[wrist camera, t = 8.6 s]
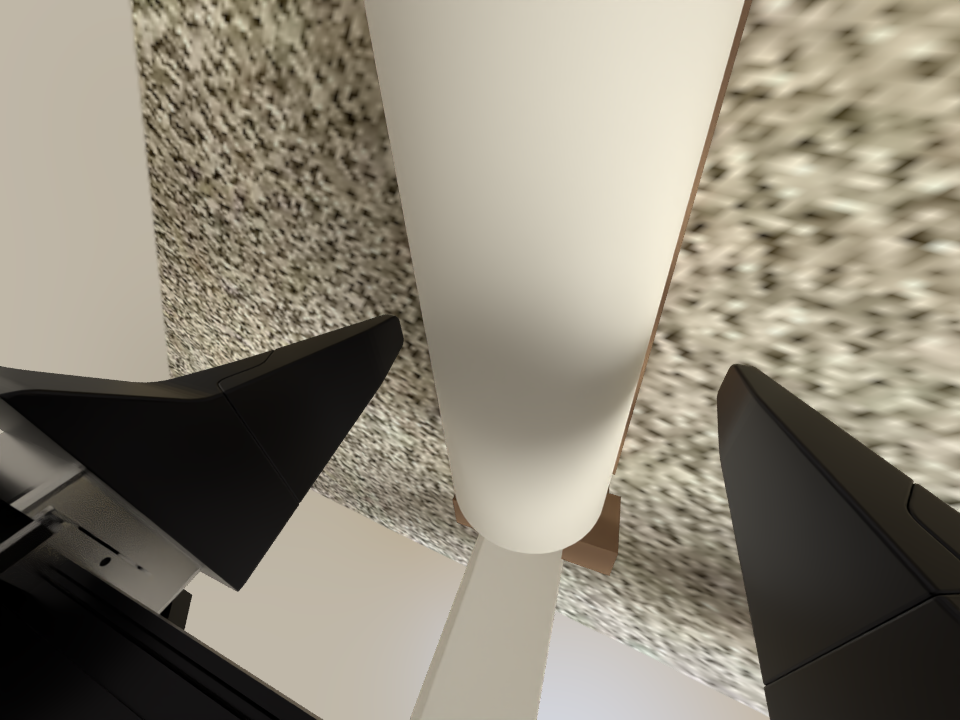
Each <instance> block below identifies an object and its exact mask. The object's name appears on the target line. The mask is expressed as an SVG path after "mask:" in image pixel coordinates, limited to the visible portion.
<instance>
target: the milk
mask: <svg viewBox="0 0 960 720" xmlns="http://www.w3.org/2000/svg"><path fill="white" fill-rule="evenodd" d="M562 551H563V549H561V550H558V551H555V552H549V553H543V554H528V553H520V552H515V551H512V550H508V549H505V548H503V547H500V546H498V545H496V544H494V543H492V542H490V541H489V540H487V539H486V538H484V537H483V536H482V535H480V534H479V535H478V538H477V541H476V543H475V546H474V549H473V551H472V554H471V557H470V559H469V562H468V565H467V568H466V570H465V573H464V576H463V578H462V581H461V584H460V586H459V589H458V592H457V594H456V597H455V600H454V602H453V605H452V608H451V610H450V613H449V616H448V618H447V621H446V624H445V626H444V629H443V632H442V635H441V637H440V640H439V643H438V645H437V648H436V651H435V653H434V656H433V659H432V661H431V664H430V667H429V670H428V672H427V675H426V677H425V680H424V683H423V685H422V688H421V691H420V693H419V696H418V699H417V702H416V704H415V707H414V709H413V712H412V715H411V718H410V720H537V715H538V709H539V703H540V697H541V691H542V685H543V679H544V672H545V667H546V661H547V655H548V649H549V643H550V637H551V631H552V626H553V620H554V613H555V608H556V602H557V596H558V590H559V584H560V578H561V572H562V566H563V559H561V556H562Z"/></svg>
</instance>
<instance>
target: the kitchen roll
mask: <svg viewBox="0 0 960 720" xmlns="http://www.w3.org/2000/svg"><path fill="white" fill-rule="evenodd" d="M744 1H745V0H364V5H365V10H366V15H367V21H368V26H369V32H370V37H371V42H372V48H373V53H374V59H375V64H376V69H377V75H378V80H379V86H380V91H381V96H382V102H383V107H384V112H385V118H386V123H387V129H388V134H389V139H390V145H391V150H392V156H393V161H394V166H395V172H396V177H397V183H398V188H399V193H400V199H401V204H402V210H403V215H404V220H405V226H406V231H407V237H408V242H409V247H410V253H411V258H412V263H413V269H414V274H415V280H416V285H417V290H418V296H419V301H420V307H421V312H422V317H423V323H424V328H425V334H426V339H427V344H428V350H429V355H430V361H431V366H432V371H433V377H434V382H435V388H436V393H437V398H438V404H439V409H440V414H441V420H442V425H443V431H444V436H445V441H446V447H447V452H448V458H449V463H450V468H451V474H452V479H453V485H454V490H455V495H456V499H457V502H458V505H459V508H460V510H461V512H462V513H463V515H464V517H465V518H466V520H467V521H468V522H469V524H470V525H471V526H472V527H473V528H474V529H475V530H476V531H477V532H478V533H479V534H480V535H482V536H483V537H484V538H486V539H487V540H489V541H490V542H492V543H494V544H496V545H498V546H500V547H503V548H505V549H508V550H512V551H515V552H520V553H528V554H543V553H549V552H555V551H558V550H561V549H564V548H566V547H568V546H571V545H573V544H575V543H576V542H577V541H579V540H580V539H582V538H583V537H584V536H585V535H586V534H587V533H588V532H589V531H590V530H591V529H592V528H593V526H594V525H595V524H596V522H597V520H598V518H599V516H600V514H601V511H602V508H603V505H604V502H605V498H606V494H607V491H608V487H609V484H610V480H611V476H612V473H613V469H614V466H615V462H616V459H617V455H618V451H619V448H620V444H621V441H622V437H623V434H624V430H625V426H626V423H627V419H628V416H629V412H630V409H631V405H632V401H633V398H634V394H635V391H636V387H637V384H638V380H639V376H640V373H641V369H642V366H643V362H644V359H645V355H646V351H647V348H648V344H649V341H650V337H651V333H652V330H653V326H654V323H655V319H656V316H657V312H658V308H659V305H660V301H661V298H662V294H663V291H664V287H665V283H666V280H667V276H668V273H669V269H670V266H671V262H672V258H673V255H674V251H675V248H676V244H677V241H678V237H679V233H680V230H681V226H682V223H683V219H684V216H685V212H686V208H687V205H688V201H689V198H690V194H691V190H692V187H693V183H694V180H695V176H696V173H697V169H698V165H699V162H700V158H701V155H702V151H703V148H704V144H705V140H706V137H707V133H708V130H709V126H710V123H711V119H712V115H713V112H714V108H715V105H716V101H717V98H718V94H719V90H720V87H721V83H722V80H723V76H724V73H725V69H726V65H727V62H728V58H729V55H730V51H731V47H732V44H733V40H734V37H735V33H736V30H737V26H738V22H739V19H740V15H741V12H742V8H743V5H744Z"/></svg>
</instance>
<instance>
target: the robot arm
mask: <svg viewBox="0 0 960 720" xmlns="http://www.w3.org/2000/svg"><path fill="white" fill-rule="evenodd" d="M403 341H404V339H403V334H402V330H401V325H400V321H399V319H398V317H396V316H393V315H381V316H378V317H375V318H372V319H369V320H366V321H363V322H359V323H356V324H353V325H350V326H347V327H344V328H340V329H337V330H334V331H331V332H328V333H325V334H322V335H318V336H315V337H312V338H309V339H306V340H303V341H300V342H296V343H293V344H290V345H287V346H284V347H281V348H278V349H276V350H271V351H268V352H265V353H262V354H258V355H255V356H252V357H249V358H245V359H242V360H239V361H235V362H232V363H228V364H225V365H221V366H217V367H214V368H210V369H206V370H203V371H199V372H195V373H192V374H188V375H184V376H181V377H177V378H173V379H169V380H165V381H158V382H147V383H143V382H141V383H140V382H127V381H118V380H109V379H100V378H91V377H82V376H73V375H64V374H54V373H46V372H37V371H29V370H21V369H14V368H7V367H2V366H0V429H1V430H2V431H4V432H3V433H1V434H0V720H323V719H321V718H320V717H318V716H316V715H315V714H313V713H311V712H310V711H309V710H307V709H305V708H304V707H302V706H301V705H299V704H298V703H296V702H295V701H293V700H292V699H290V698H288V697H287V696H285V695H284V694H282V693H281V692H279V691H278V690H276V689H275V688H273V687H271V686H270V685H268V684H266V683H265V682H264V681H262V680H261V679H259V678H257V677H256V676H254V675H253V674H251V673H250V672H248V671H247V670H245V669H243V668H242V667H240V666H239V665H237V664H236V663H234V662H233V661H231V660H229V659H228V658H226V657H225V656H223V655H222V654H220V653H218V652H217V651H215V650H214V649H212V648H210V647H209V646H208V645H206V644H205V643H203V642H201V641H200V640H198V639H197V638H195V637H194V636H192V635H190V634H189V633H187V632H186V631H184V629H185V625H186V620H187V615H188V611H189V607H190V602H191V598H192V595H191V594H190V593H189V592H187V591H186V590H184V588H185V587H186V586H187V585H188V584H189V583H190V582H191V580H192V579H193V578H194V577H195V576H196V575H197V574H198V573H199V572H202V573H204V574H206V575H208V576H210V577H211V578H213V579H215V580H217V581H219V582H221V583H222V584H224V585H226V586H228V587H230V588H232V589H233V590H235V591H239V590H240V589H241V588H242V587H243V585H244V584H245V583H246V582H247V580H248V579H249V577H250V576H251V574H252V573H253V571H254V570H255V568H256V567H257V566H258V564H259V562H260V561H261V559H262V558H263V557H264V555H265V554H266V552H267V551H268V549H269V548H270V546H271V545H272V544H273V542H274V541H275V539H276V538H277V536H278V535H279V533H280V532H281V530H282V529H283V527H284V526H285V525H286V523H287V522H288V520H289V518H290V517H291V516H292V514H293V513H294V511H295V510H296V509H297V507H298V506H299V503H300V502H301V501H302V499H303V498H304V496H305V495H306V494H307V492H308V491H309V489H310V488H311V486H312V485H313V483H314V482H315V480H316V479H317V478H318V476H319V475H320V473H321V472H322V470H323V469H324V467H325V466H326V464H327V463H328V461H329V460H330V459H331V457H332V456H333V454H334V453H335V451H336V450H337V448H338V447H339V445H340V444H341V442H342V441H343V440H344V438H345V437H346V435H347V434H348V432H349V431H350V429H351V428H352V426H353V425H354V424H355V422H356V421H357V419H358V418H359V416H360V415H361V413H362V412H363V410H364V409H365V407H366V406H367V405H368V403H369V402H370V400H371V399H372V397H373V396H374V394H375V393H376V391H377V390H378V388H379V387H380V385H381V384H382V382H383V381H384V379H385V377H386V375H387V374H388V372H389V370H390V368H391V366H392V364H393V362H394V361H395V359H396V357H397V355H398V353H399V351H400V349H401V348H402V345H403ZM717 415H718V438H719V454H720V461H721V467H722V472H723V477H724V482H725V487H726V493H727V498H728V503H729V508H730V513H731V518H732V524H733V529H734V534H735V539H736V544H737V549H738V555H739V560H740V565H741V570H742V575H743V581H744V586H745V591H746V596H747V601H748V606H749V612H750V617H751V622H752V627H753V632H754V637H755V643H756V648H757V653H758V658H759V663H760V668H761V674H762V679H763V683H764V685H766V686H765V687H764V691H765V696H766V701H767V706H768V711H769V717H770V720H960V513H959V512H957V511H956V510H955V509H953V508H952V507H950V506H949V505H947V504H946V503H944V502H943V501H942V500H940V499H939V498H938V497H936V496H935V495H933V494H932V493H931V492H929V491H928V490H926V489H925V488H924V487H922V486H921V485H919V484H916V483H915V484H913V480H912V479H911V478H910V477H908V476H907V475H905V474H904V473H903V472H901V471H900V470H898V469H897V468H896V467H894V466H893V465H891V464H890V463H889V462H887V461H886V460H884V459H883V458H882V457H880V456H879V455H877V454H876V453H875V452H873V451H872V450H870V449H869V448H868V447H866V446H865V445H863V444H862V443H861V442H859V441H858V440H856V439H855V438H854V437H852V436H851V435H849V434H848V433H847V432H845V431H844V430H842V429H841V428H840V427H838V426H837V425H835V424H834V423H833V422H831V421H830V420H828V419H827V418H826V417H824V416H823V415H822V414H820V413H819V412H817V411H816V410H815V409H813V408H812V407H810V406H809V405H808V404H806V403H805V402H803V401H802V400H801V399H799V398H798V397H796V396H795V395H794V394H792V393H791V392H789V391H788V390H787V389H785V388H784V387H782V386H781V385H780V384H778V383H777V382H775V381H774V380H773V379H771V378H770V377H768V376H767V375H766V374H764V373H763V372H761V371H760V370H759V369H757V368H756V367H753V366H748V365H741V364H733V365H732V366H731V367H730V368H729V370H728V372H727V374H726V376H725V378H724V380H723V382H722V384H721V387H720V389H719V391H718V395H717Z"/></svg>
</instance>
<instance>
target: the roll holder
mask: <svg viewBox="0 0 960 720" xmlns="http://www.w3.org/2000/svg"><path fill="white" fill-rule="evenodd" d="M751 3H752V0H745V1H744V5H743V8H742V12H741V15H740V19H739V22H738V26H737V30H736V33H735V37H734V40H733V44H732V47H731V51H730V55H729V58H728V62H727V65H726V69H725V73H724V76H723V80H722V83H721V87H720V90H719V94H718V98H717V101H716V105H715V108H714V112H713V115H712V119H711V123H710V126H709V130H708V133H707V137H706V140H705V144H704V148H703V151H702V155H701V158H700V162H699V165H698V169H697V173H696V176H695V180H694V183H693V187H692V190H691V194H690V198H689V201H688V205H687V208H686V212H685V216H684V219H683V223H682V226H681V230H680V233H679V237H678V241H677V244H676V248H675V251H674V255H673V258H672V262H671V266H670V269H669V273H668V276H667V280H666V283H665V287H664V291H663V294H662V298H661V301H660V305H659V308H658V312H657V316H656V319H655V323H654V326H653V330H652V333H651V337H650V341H649V344H648V348H647V351H646V355H645V359H644V362H643V366H642V369H641V373H640V376H639V380H638V384H637V387H636V391H635V394H634V398H633V401H632V405H631V409H630V412H629V416H628V419H627V423H626V426H625V430H624V434H623V437H622V441H621V444H620V448H619V451H618V455H617V459H616V462H615V466H614V469H613V473H612V474H614V475H615V472H616V469H617V465H618V462H619V458H620V455H621V452H622V448H623V445H624V441H625V438H626V434H627V431H628V427H629V424H630V420H631V417H632V414H633V410H634V407H635V403H636V400H637V396H638V393H639V389H640V386H641V382H642V379H643V376H644V372H645V369H646V365H647V362H648V358H649V355H650V351H651V348H652V344H653V341H654V338H655V334H656V331H657V327H658V324H659V320H660V317H661V313H662V310H663V307H664V303H665V300H666V296H667V293H668V289H669V286H670V282H671V279H672V275H673V272H674V269H675V265H676V262H677V258H678V255H679V251H680V248H681V244H682V241H683V237H684V234H685V231H686V227H687V224H688V220H689V217H690V213H691V210H692V206H693V203H694V199H695V196H696V193H697V189H698V186H699V182H700V179H701V175H702V172H703V168H704V165H705V161H706V158H707V155H708V151H709V148H710V144H711V141H712V137H713V134H714V130H715V127H716V123H717V120H718V117H719V113H720V110H721V106H722V103H723V99H724V96H725V92H726V89H727V85H728V82H729V79H730V75H731V72H732V68H733V65H734V61H735V58H736V54H737V51H738V47H739V44H740V41H741V37H742V34H743V30H744V27H745V23H746V20H747V16H748V13H749V9H750V6H751ZM609 485H610V484H609ZM452 500H453V505H454V510H455V515H456V520H457V523H459V524H462V525H465V526H468V527H471V528H473V527H472V526H471V525H470V524H469V522H468V521H467V520H466V518H465V517H464V515H463V513H462V512H461V510H460V508H459V505H458V502H457V499H456V495H454V497H453V499H452ZM620 503H621V497H620V496H616V495H613V494H609V487H608V491H607V494H606V498H605V502H604V505H603V508H602V511H601V514H600V516H599V518H598V520H597V522H596V524H595V525H594V526H593V528H592V529H591V530H590V531H589V532H588V533H587V534H586V535H585V536H584V537H583V538H582V539H580V540H579V541H577V542H576V543H575V544H573V545H571V546H568V547H566V548H564V549H563V551H562V556H561V559H563V560H566V561H568V562H571V563H574V564H577V565H580V566H583V567H586V568H589V569H591V570H594V571H597V572H600V573H603V574H606V575H610V573H611V570H612V568H613V565H614V562H615V560H616V557H617V555H618V542H619V523H620Z"/></svg>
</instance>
